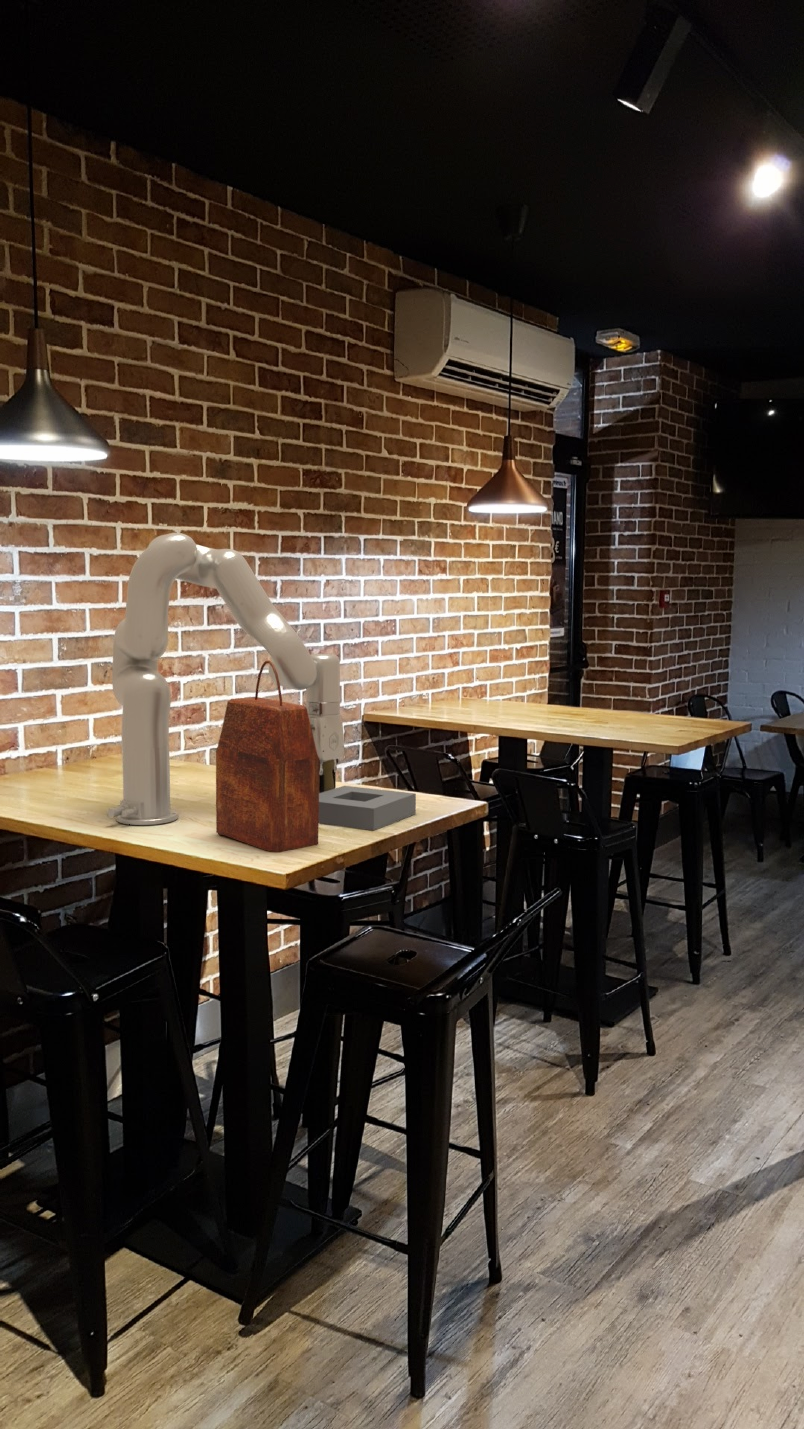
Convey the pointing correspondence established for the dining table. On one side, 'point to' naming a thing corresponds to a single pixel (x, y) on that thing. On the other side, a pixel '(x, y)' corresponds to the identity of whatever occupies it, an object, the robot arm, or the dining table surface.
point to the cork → (328, 775)
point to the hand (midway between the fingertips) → (323, 789)
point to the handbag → (267, 774)
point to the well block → (364, 807)
